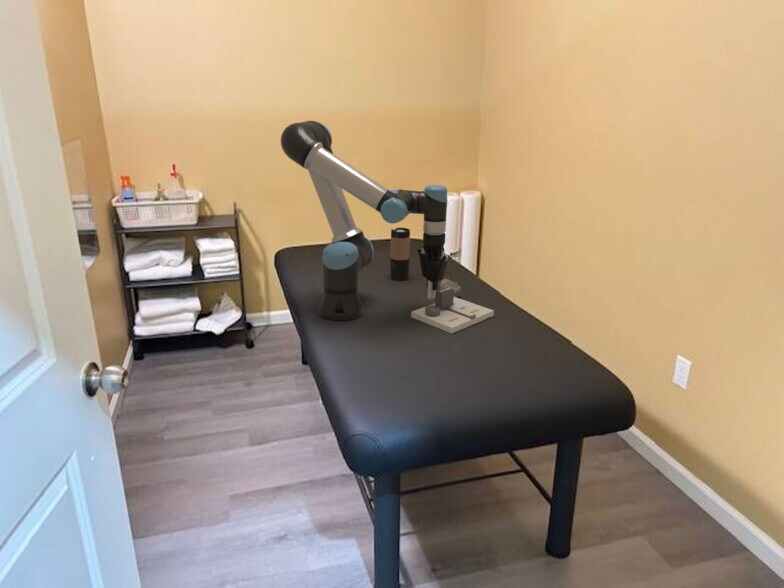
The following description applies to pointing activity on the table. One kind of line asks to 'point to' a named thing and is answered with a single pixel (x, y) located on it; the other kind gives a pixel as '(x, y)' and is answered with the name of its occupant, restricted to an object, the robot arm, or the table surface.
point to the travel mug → (400, 253)
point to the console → (453, 315)
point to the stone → (451, 286)
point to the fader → (444, 298)
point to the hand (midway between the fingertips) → (431, 297)
